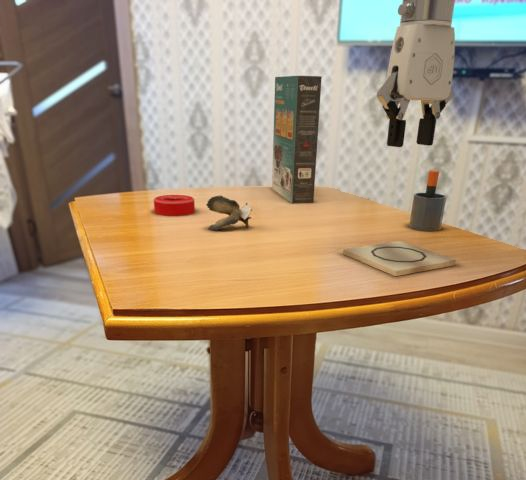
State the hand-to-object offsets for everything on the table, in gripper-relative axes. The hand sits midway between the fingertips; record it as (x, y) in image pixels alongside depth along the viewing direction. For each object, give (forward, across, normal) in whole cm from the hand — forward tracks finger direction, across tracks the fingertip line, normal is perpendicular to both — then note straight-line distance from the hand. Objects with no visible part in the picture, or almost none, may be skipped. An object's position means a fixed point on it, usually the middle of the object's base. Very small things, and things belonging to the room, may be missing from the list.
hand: (409, 144), depth 84 cm
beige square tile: (+19, -1, -1) cm, 19 cm away
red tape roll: (+19, -22, +53) cm, 60 cm away
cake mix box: (+19, +16, +60) cm, 65 cm away
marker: (+19, +22, +15) cm, 33 cm away
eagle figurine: (+19, -18, +33) cm, 42 cm away
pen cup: (+19, +22, +15) cm, 33 cm away
